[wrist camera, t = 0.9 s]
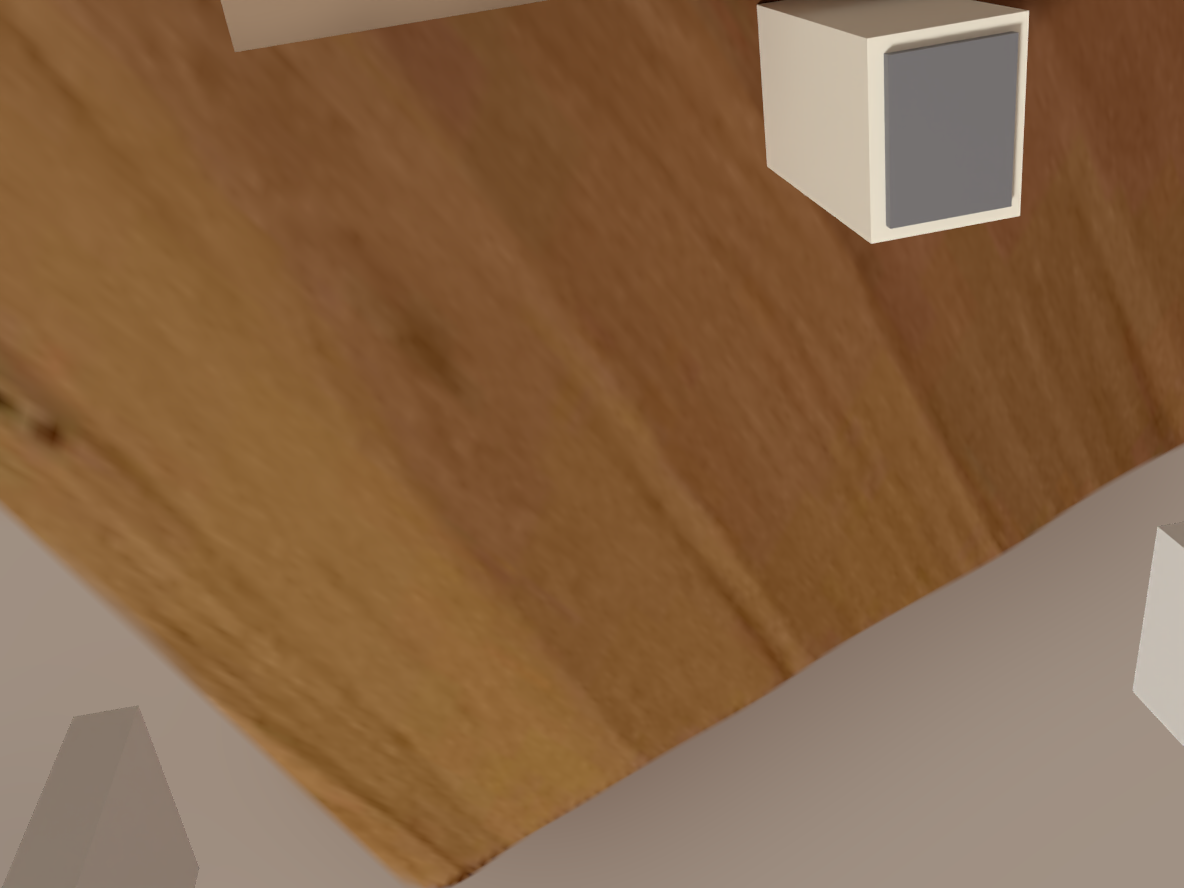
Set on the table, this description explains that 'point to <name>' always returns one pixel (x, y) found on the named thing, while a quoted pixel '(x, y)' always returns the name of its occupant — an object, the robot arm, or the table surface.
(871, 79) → the block
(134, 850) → the robot arm
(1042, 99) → the table surface
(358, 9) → the wooden plank
